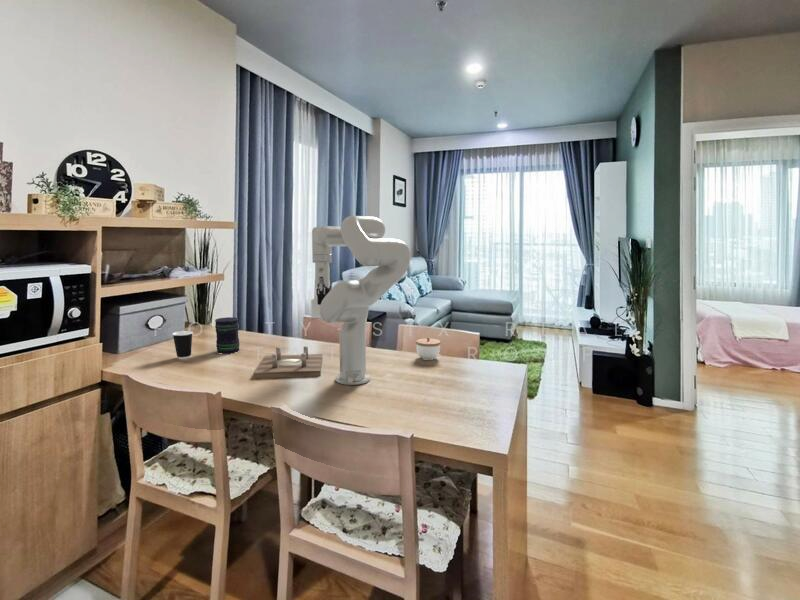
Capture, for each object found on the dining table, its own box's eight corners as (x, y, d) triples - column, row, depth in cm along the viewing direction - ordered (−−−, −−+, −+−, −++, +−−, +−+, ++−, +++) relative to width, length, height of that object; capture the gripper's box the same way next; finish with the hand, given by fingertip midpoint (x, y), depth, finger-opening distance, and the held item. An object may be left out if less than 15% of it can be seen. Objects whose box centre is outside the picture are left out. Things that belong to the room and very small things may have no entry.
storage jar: (217, 349, 196) (216, 317, 194) (240, 348, 199) (239, 316, 197) (215, 354, 187) (213, 321, 185) (239, 353, 189) (237, 320, 187)
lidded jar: (413, 360, 180) (413, 339, 179) (418, 354, 191) (418, 334, 190) (438, 362, 178) (438, 340, 177) (441, 356, 188) (442, 335, 187)
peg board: (320, 375, 159) (320, 357, 158) (254, 378, 155) (253, 359, 154) (322, 358, 182) (322, 342, 181) (265, 360, 179) (264, 344, 178)
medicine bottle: (334, 315, 172) (333, 285, 170) (328, 318, 165) (328, 288, 163) (317, 314, 173) (316, 285, 171) (311, 317, 166) (310, 287, 164)
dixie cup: (198, 356, 184) (197, 331, 182) (182, 361, 176) (181, 335, 175) (185, 354, 187) (184, 330, 185) (169, 359, 180) (167, 333, 178)
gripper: (330, 260, 157) (330, 306, 160) (332, 257, 175) (333, 299, 177) (310, 259, 157) (310, 306, 159) (314, 257, 174) (315, 299, 176)
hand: (322, 302), depth 168 cm, fingers closed on medicine bottle, 8 cm apart
